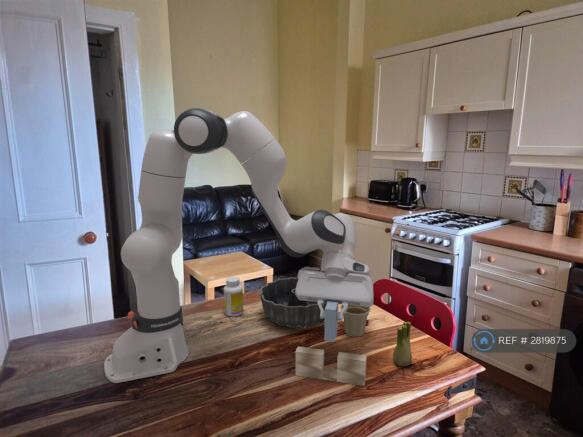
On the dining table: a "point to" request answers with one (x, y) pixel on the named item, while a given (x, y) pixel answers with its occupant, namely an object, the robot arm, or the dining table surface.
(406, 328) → the fennel bulb
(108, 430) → the dining table surface
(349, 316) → the flower pot
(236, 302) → the supplement bottle
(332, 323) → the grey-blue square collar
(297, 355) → the beech slot board
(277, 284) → the bundt pan
